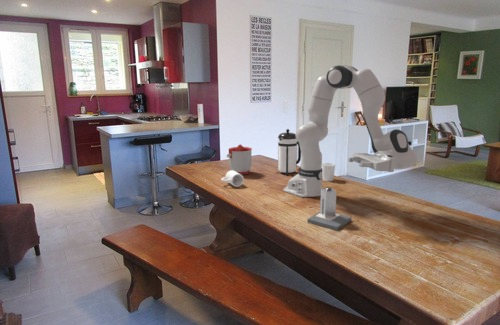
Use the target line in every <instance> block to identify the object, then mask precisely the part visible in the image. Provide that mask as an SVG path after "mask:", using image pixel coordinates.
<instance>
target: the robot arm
mask: <svg viewBox="0 0 500 325" xmlns="http://www.w3.org/2000/svg"><path fill="white" fill-rule="evenodd" d="M351 88H353V90H355V93H356V94H357V96H358V99H359V101H360V103H361V104H360V105H361V108H362V117H363V120H364V123H365V125H366V129H367V131H368V134H369V138H370V142H371V143H370V144H371V148H372V151H373V153H374V154H370V153H367V152H366V153H365V152H364V153H363V152H362V153H361V152H358V153H357V152H356V153H353V154H352V156H351V157H348V159H347V162H349V163H354V162H355V163H357V164H358V166H359V167H361V168H367V169H368V168H369V169H372V170H374V171H376V172H387V173H394V170H403V169H409V168H411V167H414V165H415V164H416V162H417V159H418V158H417V153H416V152H415V150H414V149H412V147H411V146H410V144H409V141H408V136H407V133H405V132H404V131H403V130H401V129H392V130H390V131H388V132H386V133H385V134H384V132H383V130H382V128H381V124H380V122H379V115H380V111H381V109H382V107H383V106H384V104H385V100H386V94H385V90H384V89H383V87H382V84H381V83H380V81H379V79H378V77H377V76H376V75H375V73H374V72H373V70H371V69H370V68H361V69H359V70H358V69H357V68H355V67H354V66H349V65H347V64H346V65H345V64H344V65H338V64H337V65H334V66H332V67H330V69H328V71H327V73H326V75H321V76H319V77H318V78H317V79H316V82H315V84H314V86H313V89H312V92H311V95H310V100H309V103H308V106H307V111H308V122H307V123H305V124H303V125H301V126H299V127H298V128H297V129H296V132H295V134H296V139H297V141H298V142H299V145H300V149H301V159H300V167H298V168H297V170H296V172H297V173H296V174H295V175H294V176H293V177H291V178H290V179H289V180H288V182H287V186H285V187H283V192H284V193H288V194H291V195H295V196H297V197H300V198H307V197H311V198H315V197H321V189H323V182H322V181H323V180H322V164H323V163H322V162H323V154H322V152H321V148H320V142H321V141H323V140H324V139H325V138H326V137H327V136H328V134H329V129H328V123H329V116H330V111H331V107H332V104H333V100H334V96H335V93H336V91H337V90H338V89H340V90H341V89H342V90H344V89H351Z"/></svg>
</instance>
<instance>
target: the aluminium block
mask: <svg viewBox="0 0 500 325" xmlns="http://www.w3.org/2000/svg"><path fill="white" fill-rule="evenodd" d="M322 188H323V187H322ZM319 205H320V207H319V212H320V214H321V215H322V216H323V217H324V218H330V217H335V213H337V212H336V210H337V190H336V189H334V188H332V187H329V186H328V187H326V188H323V189H321V196H320V204H319Z"/></svg>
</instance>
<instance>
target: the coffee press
mask: <svg viewBox="0 0 500 325" xmlns="http://www.w3.org/2000/svg"><path fill="white" fill-rule="evenodd" d="M277 138H278V142H277V144H278V145H277V146H278V151H277V154H278V155H277V158H278V159H277V169H276V173H277V174H278V173H285V177H286V176H289V173H296V172H297V169H298V168H297V164H299V163H301V149H300V145H299V142H298V141H297V139H296V133H294V132H290V129H289V128H287V129H286V130H285V132H282V133H280V134H278V137H277Z"/></svg>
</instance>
